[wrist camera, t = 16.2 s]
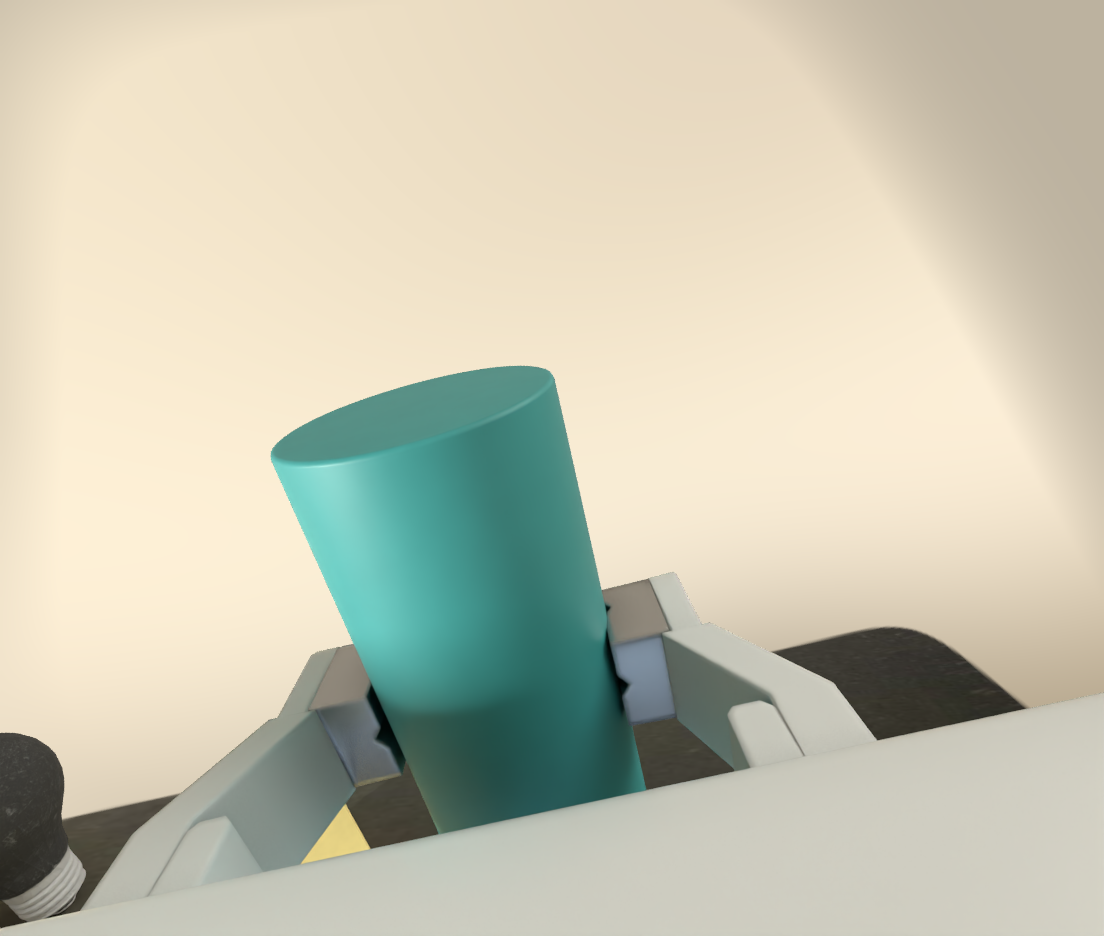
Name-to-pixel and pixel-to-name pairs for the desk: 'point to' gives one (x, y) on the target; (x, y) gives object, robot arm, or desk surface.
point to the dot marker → (469, 590)
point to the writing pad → (338, 838)
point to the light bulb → (34, 831)
